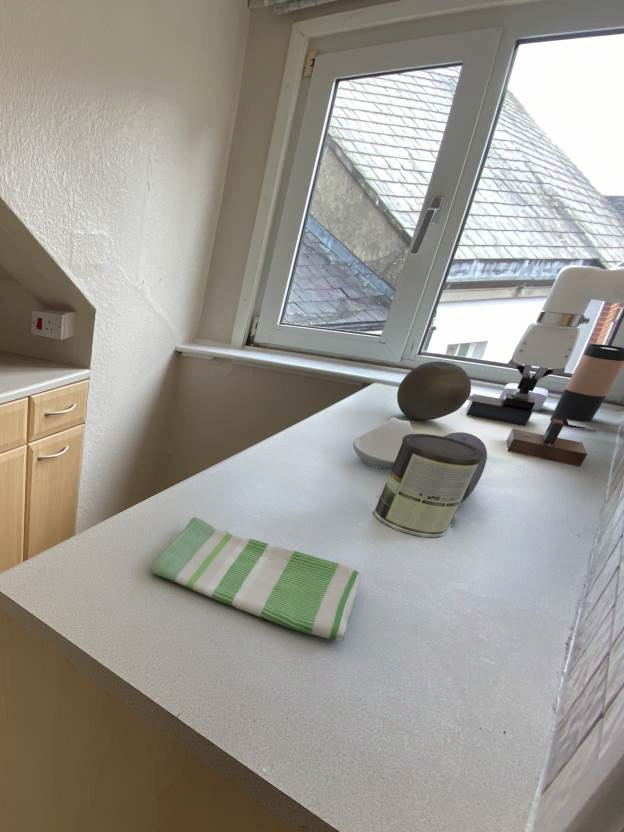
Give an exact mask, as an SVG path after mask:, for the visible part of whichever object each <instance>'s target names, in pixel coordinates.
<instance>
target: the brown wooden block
mask: <svg viewBox="0 0 624 832" xmlns="http://www.w3.org/2000/svg"><path fill="white" fill-rule="evenodd" d="M543 436H544V434H543V433H536V432H532V431H526V430H521V429H516V428H511V431H510V432H509V435H508V437H507V438H506V448H508V450H507V452H510V451H512V452H511V453H514V452H516V453H515V454H520V455H525V456H528V455H529V456H528V457H534V458H537V459H543V460H547V461H552V462H556V463H560V464H566V465H570V466H575V467H578V468H579V467H581V466H582V465H583V463H584V462H585V460H586V458H587V456H588V452H587V450H586V448H585V445H584V442H581V441H577V440H571V439H566V438H563V437H562V438H561V437H557V439H556V441H555V442H554V444H551V443H546V442H544V439H543Z"/></svg>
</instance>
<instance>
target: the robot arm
mask: <svg viewBox="0 0 624 832" xmlns="http://www.w3.org/2000/svg"><path fill="white" fill-rule="evenodd" d="M592 300H594V301H599V302H600V301H601V302H606V303H610V304H624V260H622V261H620V262H619V263H618V264H616V265H614V266H613V267H611V268H605V269H604V268H602V267H599V266H592V265H577V264H576V265H565V266H564V267H562V268H561V269H560V270H559V272H558V274H557V276H556V278H555V280H554V282H553V284H552V286H551V289H550V291H549V293H548V295H547V297H546V299H545V301H544V304H543V306H542V308H541V310H540V312H539V314H538V317H537V319H536V321H535V322H530V323H529V325H528V326H527V328H526V329H525V331H524V332H523V334H522V336H521V337H520V339H519V341H518V343H517V345H516V347H515V349H514V351H513V354H512V355H511V356H512V357H511V358H510V360H509V361H508V362H507V367H510V368H512V369H514V370H517V371H518V372H519V374H520V375H521V379H520V380H519V382H518V384H519V385H518V387H517V389H520V390H519V393H525V394H528V393H529V391H533V390H534V388H535V387H537V386H536V385H537V383H538V382H539V380H541V379H542V378H544V377H547V376H550V375H562V374H564V373H565V372H566V371H565V370H566V367H567V365H568V363H569V361H570V359H571V357H572V355H573V352H574V350H575V348H576V345H577V343H578V339H579V337H580V334H581V333H580V332H581V327H580V325H584V324H586V325H588V324H589V323H590V321H591V317H587V316H585V313H586V311H587V309H588V307H589V305H590V303H591V301H592ZM532 367H537V368H538V369H537V371H536V372H535V373H534V374H532V376H531V374H530V373H531V369H532Z"/></svg>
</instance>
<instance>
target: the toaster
mask: <svg viewBox="0 0 624 832" xmlns="http://www.w3.org/2000/svg"><path fill="white" fill-rule="evenodd" d="M512 396H513V394H507V393H505V396H504V398H503V399H499V398H500V397H499V398H498V397H494V396H493V397H492V396H487V395H482V394H476V393H473V394H472V396H471V398H470V400H469V402H468V404H467V407H466V412H465V413H466V414H465V415H466V416H468V417H474V418H479V419H485V420H488V421H494V422H499V423H505V424H510V425H516V426H521V427H526V426H527V424H528V422H529V421H530V419H531V416H532V414H533V412H534V410H532V408H533V406H534V405H535V400H534V398H531V397H529V398H528V400H522V399H516V398H512Z"/></svg>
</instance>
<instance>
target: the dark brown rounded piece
mask: <svg viewBox="0 0 624 832" xmlns="http://www.w3.org/2000/svg"><path fill="white" fill-rule="evenodd" d="M471 381H472V380H471V378H470V376H469V374H468V373H467V371H465V370H464V368H462V366H459V365H457V364H455V363H452V362H446V361H442V360H441V361H439V360H438V361H437V360H436V361H429V362H428V361H427V362H426V363H422V364H419V365H418V366H415V368H413V369H411V370H410V371H409V372H408V373H407V374H406V375H405V376H404V378H403V379H402V380H401V382H400V384H399V386H398V389H397V392H396V393H397V394H396V399H397V400H396V401H397V406H398V408H399V410H400V411H401V413H402V414H403V415H405V416H406V417H408V418H410V419H412V420H417V421H431V420H432V421H433V420H437V419H440V418H443V417H447V416H448V415H451V414H453V413H455V412H457V411H458V410H460V409H461V407H463V405H464V404H465V403H466V402H467V401H468V399H469V397H470V395H471V393H472V382H471Z"/></svg>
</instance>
